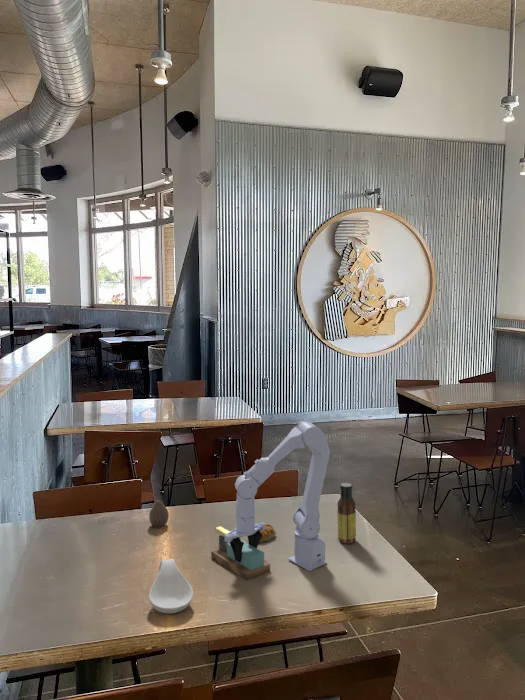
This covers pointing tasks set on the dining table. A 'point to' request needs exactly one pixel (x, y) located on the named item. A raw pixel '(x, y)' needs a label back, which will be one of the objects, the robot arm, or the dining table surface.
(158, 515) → the grey oval piece
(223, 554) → the base
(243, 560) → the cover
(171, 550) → the dining table surface
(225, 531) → the tan rectangular bar
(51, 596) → the dining table surface
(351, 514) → the sauce bottle
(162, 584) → the spoon rest
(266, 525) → the pastry
